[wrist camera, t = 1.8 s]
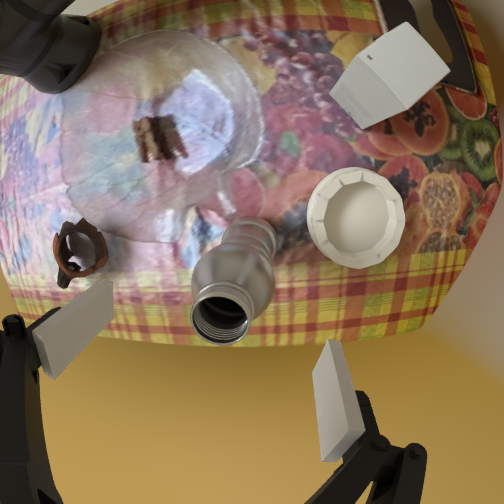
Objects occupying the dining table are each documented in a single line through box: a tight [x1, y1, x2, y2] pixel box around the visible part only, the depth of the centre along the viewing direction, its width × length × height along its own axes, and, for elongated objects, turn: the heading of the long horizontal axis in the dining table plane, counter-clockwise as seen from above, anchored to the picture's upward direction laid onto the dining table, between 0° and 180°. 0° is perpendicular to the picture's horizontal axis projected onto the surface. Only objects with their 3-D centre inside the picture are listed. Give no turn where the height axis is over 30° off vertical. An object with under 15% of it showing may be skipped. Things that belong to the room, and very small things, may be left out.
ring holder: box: [306, 167, 405, 269], centre depth 31 cm, size 12×12×3 cm
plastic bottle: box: [190, 216, 278, 345], centre depth 25 cm, size 6×7×20 cm
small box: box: [329, 22, 451, 129], centre depth 22 cm, size 8×6×13 cm
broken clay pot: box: [53, 218, 108, 289], centre depth 35 cm, size 12×10×8 cm
